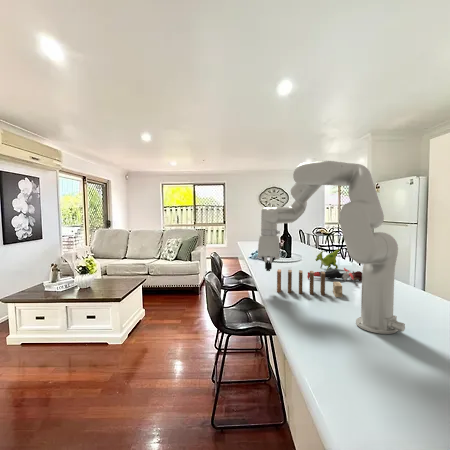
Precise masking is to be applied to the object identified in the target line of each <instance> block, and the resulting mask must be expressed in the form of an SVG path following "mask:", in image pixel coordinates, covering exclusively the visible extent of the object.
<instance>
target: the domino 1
mask: <svg viewBox="0 0 450 450" xmlns="http://www.w3.org/2000/svg"><path fill="white" fill-rule="evenodd" d="M281 292H282V269H279V268H278V269H277V271H276V293H281Z"/></svg>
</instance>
